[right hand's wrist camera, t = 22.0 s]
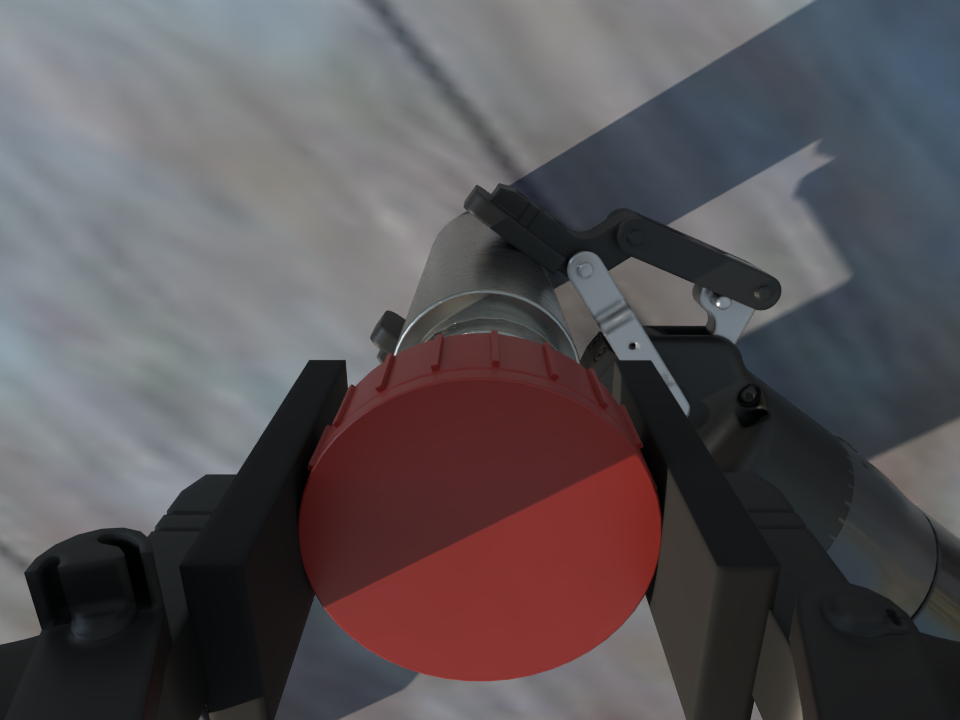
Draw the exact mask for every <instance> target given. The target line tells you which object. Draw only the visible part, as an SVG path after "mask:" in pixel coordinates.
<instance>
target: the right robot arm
mask: <svg viewBox="0 0 960 720" xmlns="http://www.w3.org/2000/svg"><path fill="white" fill-rule="evenodd" d="M347 390H348V384H347V372H346V360H309V361H308V363H307V365H306V366H305V368H304V369H303V371H302V372H301V374H300V376H299V377H298V379H297V380H296V382H295V384H294V385H293V387H292V388H291V390H290V391H289V393H288V395H287V396H286V398H285V399H284V401H283V402H282V404H281V406H280V407H279V409H278V410H277V412H276V414H275V415H274V417H273V418H272V420H271V421H270V423H269V425H268V426H267V428H266V429H265V431H264V432H263V434H262V436H261V437H260V439H259V440H258V442H257V444H256V445H255V447H254V448H253V450H252V451H251V453H250V455H249V456H248V458H247V459H246V461H245V462H244V464H243V466H242V467H241V469H240V470H239V472H238V474H237V475H205V476H203V477H202V478H201V479H199V480H198V481H196V482H195V483H193V484H192V485H190V486H189V487H187V488H186V489H184V490H183V491H182V492H181V493H180V494H179V496H178V497H177V498H176V500H175V501H174V502H173V504H172V505H171V506H170V508H169V509H168V510H167V515H164V516H163V517H162V518H161V520H160V521H159V522H158V524H157V525H156V526H155V531H154V532H151V533H150V534H149V536H148V537H146V536H145V535H144V534H143V533H142V532H140V531H136V530H132V529H127V528H108V529H99V530H95V531H91V532H87V533H83V534H79V535H76V536H74V537H72V538H69V539H67V540H65V541H63V542H60V543H58V544H56V545H54V546H53V547H51V548H50V549H48V550H47V551H46V552H44V553H43V554H41V555H40V556H38V557H37V558H36V559H35V560H34V561H33V562H32V564H31V565H30V566H29V567H28V569H27V570H26V571H25V572H24V574H25V577H26V580H27V584H28V587H29V590H30V593H31V597H32V600H33V603H34V606H35V609H36V613H37V616H38V619H39V622H40V626H41V629H42V631H41V633H40V635H38V636H35V637H32V638H28V639H25V640H20V641H16V642H11V643H7V644H2V645H0V720H199V718H200V716H201V714H202V712H203V710H204V707H205V705H206V703H207V707H208V712H209V717H210V720H274V718H275V715H276V712H277V709H278V706H279V703H280V700H281V697H282V693H283V690H284V687H285V684H286V681H287V678H288V675H289V672H290V669H291V666H292V663H293V660H294V657H295V654H296V651H297V648H298V645H299V642H300V638H301V635H302V632H303V629H304V626H305V623H306V620H307V617H308V614H309V611H310V608H311V605H312V602H313V599H314V596H315V593H314V591H313V589H312V587H311V585H310V582H309V580H308V578H307V575H306V573H305V570H304V566H303V562H302V558H301V550H300V542H299V533H298V515H299V508H300V503H301V499H302V494H303V490H304V488H305V485H306V483H307V480H308V478H309V475H310V472H311V471H309V470H307V467H308V464H309V462H310V460H311V458H312V455H313V453H314V451H315V449H316V447H317V444H318V442H319V440H320V438H321V436H322V434H323V431H324V429H325V427H326V425H329V426H331V425H332V423H333V421H334V418H335V416H336V415H337V413H338V410H339V408H340V406H341V404H342V401H343V399H344V397H345V395H346V392H347ZM612 396H613V398H614V399H615V400H616V402H617V403H618V405H619V406H621V405H623V404H624V406H625V407H626V409H627V411H628V414H629V416H630V418H631V420H632V422H633V425H634V427H635V429H636V431H637V433H638V435H639V438H640V440H641V442H642V444H643V448H641V449H640V450H641V452H642V455H643V457H644V459H645V461H646V464H647V466H648V468H649V470H650V473H651V475H652V477H653V479H654V482H655V484H656V486H657V488H658V491H657V493H658V495H659V500H660V506H661V512H662V537H661V546H660V554H659V561H658V564H657V568H656V571H655V574H654V577H653V579H652V581H651V583H650V586H649V588H648V590H647V592H646V594H645V595H646V598H647V601H648V604H649V607H650V610H651V613H652V616H653V619H654V622H655V625H656V628H657V631H658V634H659V637H660V640H661V643H662V646H663V649H664V653H665V656H666V659H667V662H668V665H669V668H670V671H671V674H672V677H673V680H674V683H675V686H676V689H677V692H678V695H679V698H680V701H681V704H682V707H683V711H684V714H685V717H686V720H750V719H751V714H752V709H753V704H754V701H755V703H756V705H757V707H758V710H759V712H760V714H761V716H762V719H763V720H960V642H958V641H953V640H949V639H944V638H940V637H935V636H932V635H928V634H925V633H922V632H919V630H918V628H917V627H916V625H915V624H914V622H913V621H912V619H911V618H910V616H909V615H908V614H907V613H906V612H905V611H904V610H902V609H901V608H900V607H899V606H897V605H896V604H895V603H894V602H892V601H891V600H890V599H888V598H886V597H884V596H882V595H880V594H878V593H876V592H874V591H872V590H870V589H868V588H865V587H861V586H858V585H854V584H851V583H849V582H848V580H847V579H846V578H845V576H844V575H843V574H842V572H841V571H840V570H839V568H838V567H837V566H836V564H835V563H834V562H833V560H832V559H831V558H830V556H829V555H828V554H827V552H826V551H825V550H824V548H823V547H822V546H821V544H820V543H819V542H818V540H817V539H816V538H815V536H814V535H813V534H812V532H811V531H810V530H809V529H806V524H805V523H804V522H803V520H802V519H801V518H800V516H799V515H798V514H797V513H794V508H793V507H792V506H791V504H790V503H789V502H788V500H787V499H786V498H785V496H784V495H783V494H782V492H781V491H780V490H779V489H778V488H777V487H775V486H774V485H772V484H771V483H769V482H768V481H766V480H765V479H763V478H762V477H760V476H759V475H758V474H756V473H755V472H722V471H721V470H720V468H719V466H718V465H717V463H716V462H715V460H714V459H713V457H712V455H711V454H710V452H709V451H708V449H707V448H706V446H705V444H704V443H703V441H702V440H701V438H700V437H699V435H698V433H697V432H696V430H695V429H694V427H693V425H692V424H691V422H690V421H689V419H688V418H687V416H686V414H685V413H684V411H683V410H682V408H681V407H680V405H679V403H678V402H677V400H676V399H675V397H674V395H673V394H672V392H671V391H670V389H669V388H668V386H667V384H666V383H665V381H664V380H663V378H662V377H661V375H660V373H659V372H658V370H657V369H656V367H655V365H654V364H653V362H652V361H651V360H615V364H614V377H613V389H612Z"/></svg>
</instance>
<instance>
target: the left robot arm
mask: <svg viewBox="0 0 960 720" xmlns="http://www.w3.org/2000/svg"><path fill="white" fill-rule="evenodd" d="M464 208H465V209H466V210H467V211H468V212H469V213H470V214H472V215H473V216H474V217H475V218H477V219H478V220H479V221H481V222H482V223H484V224H485V225H486V226H488V227H489V228H490V229H492V230H493V231H494V232H496V233H497V234H498V235H500V236H501V237H502V238H504V239H505V240H507V241H508V242H509V243H511V244H512V245H513V246H515V247H516V248H517V249H519V250H520V251H521V252H523V253H524V254H526V255H527V256H529V257H530V258H531V259H533V260H534V261H535V262H536V263H538V264H539V265H540V266H542V267H543V268H544V269H546V270H547V271H548V272H550V273H551V274H552V275H554V274H555V273H556V272H557V271H558V270H559V271H560V272H561V273H563V274H564V275H565V276H567V277H568V278H569V279H570V281H571V282H572V284H573V286H574V287H575V289H576V290H577V292H578V294H579V295H580V297H581V298H582V300H583V302H584V303H585V305H586V306H587V308H588V309H589V311H590V313H591V314H592V316H593V317H594V319H595V321H596V322H597V324H598V326H599V328H600V329H601V331H602V332H600V331H599V333H598V334H597V335H596V336H595V337H594V339H593V340H592V341H591V342H590V343H589V345H588V346H587V347H586V349H585V352H584V354H583V356H582V358H581V360H580V364H581V366H583V367H584V368H585V369H587V370H588V369H589V368H590V367H591V368H592V369H593V370H595V372H596V375H597V377H598V379H599V381H600V382H601V383H602V384H603V385H604V386H605V387H606V388H607V390H608V391H609V392H610V394H611V395H612V389H613V377H614V364H615V360H651V361H652V362H653V364H654V365H655V367H656V369H657V370H658V372H659V373H660V375H661V377H662V378H663V380H664V381H665V383H666V384H667V386H668V388H669V389H670V391H671V392H672V394H673V395H674V397H675V399H676V400H677V402H678V403H679V405H680V407H681V408H682V410H683V411H684V413H685V414H686V416H687V418H688V419H689V421H690V422H691V424H692V425H693V427H694V429H695V430H696V432H697V433H698V435H699V437H700V438H701V440H702V441H703V443H704V444H705V446H706V448H707V449H708V451H709V452H710V454H711V455H712V457H713V459H714V460H715V462H716V463H717V465H718V466H719V468H720V470H721V471H722V472H755V473H756V474H758V475H759V476H760V477H762V478H763V479H765V480H766V481H768V482H769V483H771V484H772V485H774V486H775V487H777V488H778V489H779V490H780V491H781V492H782V494H783V495H784V496H785V498H786V499H787V500H788V502H789V503H790V504H791V506H792V507H793V508H794V513H797V514H798V515H799V516H800V518H801V519H802V520H803V522H804V523H805V524H806V529H809V530H810V531H811V532H812V534H813V535H814V536H815V538H816V539H817V540H818V542H819V543H820V544H821V546H822V547H823V548H824V550H825V551H826V552H827V554H828V555H829V556H830V558H831V559H832V560H833V562H834V563H835V564H836V566H837V567H838V568H839V570H840V571H841V572H842V574H843V575H844V576H845V578H846V579H847V580H848V582H849V583H851V584H854V585H858V586H861V587H865V588H868V589H870V590H872V591H874V592H876V593H878V594H880V595H882V596H884V597H886V598H888V599H890V600H891V601H892V602H894V603H895V604H896V605H897V606H899V607H900V608H901V609H902V610H904V611H905V612H906V613H907V614H908V615H909V616H910V618H911V619H912V621H913V622H914V624H915V625H916V627H917V628H918V630H919V632H922V633H925V634H928V635H932V636H935V637H940V638H944V639H949V640H953V641H958V642H960V539H959V538H958V537H957V536H955V535H954V534H953V533H951V532H950V531H949V530H947V529H946V528H945V527H944V526H942V525H941V524H940V523H938V522H937V521H936V520H934V519H933V518H932V517H930V516H929V515H928V514H926V513H925V512H924V511H922V510H921V509H920V508H918V507H917V506H916V505H914V504H913V503H912V502H911V501H910V500H908V499H907V498H906V496H905V495H904V494H903V493H902V492H901V491H900V490H899V489H898V488H897V487H896V486H895V485H894V484H893V483H892V482H891V481H890V480H889V479H888V478H887V477H886V476H885V475H884V474H883V473H882V472H881V471H880V470H878V469H877V468H876V467H875V466H873V465H872V464H871V463H869V462H868V461H867V460H865V459H864V458H863V457H862V456H860V455H859V454H858V452H857V451H856V450H855V449H854V448H853V446H851V445H850V444H849V443H847V442H846V441H844V440H843V439H841V438H839V437H837V436H834V435H833V434H831V433H830V432H829V431H827V430H826V429H825V428H823V427H822V426H821V425H819V424H818V423H817V422H815V421H814V420H813V419H811V418H810V417H809V416H807V415H806V414H805V413H803V412H802V411H801V410H800V409H798V408H797V407H796V406H794V405H793V404H792V403H790V402H789V401H788V400H786V399H785V398H784V397H782V396H781V395H780V394H778V393H777V392H776V391H775V390H773V389H772V388H771V387H769V386H768V385H767V384H765V383H764V382H763V381H761V380H760V379H759V378H757V377H756V376H755V375H754V374H752V373H751V372H750V371H748V370H747V368H746V367H745V365H744V362H743V360H742V356H741V353H740V351H739V349H738V348H737V346H736V345H735V344H736V342H737V341H738V339H739V337H740V335H741V334H742V332H743V330H744V329H745V327H746V325H747V324H748V322H749V320H750V318H751V317H752V315H753V313H754V312H755V310H766V309H769V308H771V307H772V306H774V305H775V304H776V303H777V301H778V300H779V298H780V296H781V285H780V283H779V281H778V280H777V279H776V278H774V277H772V276H771V275H769V274H767V273H766V272H764V271H762V270H761V269H759V268H757V267H756V266H754V265H752V264H751V263H749V262H747V261H745V260H743V259H741V258H738V257H736V256H734V255H732V254H729V253H727V252H725V251H722V250H720V249H718V248H716V247H713V246H711V245H709V244H707V243H704V242H702V241H700V240H698V239H695V238H693V237H691V236H688V235H686V234H684V233H682V232H679V231H677V230H675V229H673V228H670V227H668V226H666V225H663V224H661V223H659V222H657V221H654V220H652V219H650V218H648V217H645V216H643V215H641V214H638V213H636V212H634V211H632V210H629V209H626V208H620V209H617V210H615V211H613V212H612V213H610V215H609V216H608V217H607V219H606V220H605V221H603V222H602V223H600V224H599V225H597V226H596V227H594V228H592V229H591V230H588V231H584V232H576V231H573V230H570V229H569V228H567V227H566V226H564V225H563V224H562V223H560V222H559V221H558V220H557V219H555V218H554V217H553V216H551V215H550V214H549V213H547V212H546V211H545V210H543V209H542V208H541V207H539V206H538V205H537V204H536V203H534V202H533V201H532V200H530V199H529V198H528V197H526V196H525V195H524V194H522V193H521V192H520V191H518V190H517V189H516V188H515V187H511V186H508V185H504V184H500V183H499V184H498V185H497V187H496V188H495V190H494V191H493V192H492V194H490V193H489V192H487V191H486V190H484V189H483V188H482V187H480V186H478V185H476V186H475V188H474V189H473V190H472V192H471V193H470V195H469V196H468V197H467V199H466V200H465V202H464ZM631 256H632V257H634V258H636V259H639V260H641V261H643V262H646V263H648V264H650V265H653V266H655V267H657V268H660V269H662V270H664V271H667V272H669V273H671V274H674V275H676V276H678V277H681V278H683V279H685V280H688V281H690V282H692V283H695V284H694V286H693V291H692V293H693V298H694V300H695V301H696V302H697V303H698V304H699V305H700V306H701V307H702V308H703V309H704V310H705V311H706V312H707V314H708V321H707V324H706V326H641V324H640V322H639V321H638V319H637V317H636V316H635V314H634V313H633V311H632V309H631V308H630V306H629V305H628V303H627V302H626V300H625V298H624V297H623V295H622V293H621V292H620V290H619V288H618V287H617V285H616V283H615V282H614V280H613V279H612V277H611V275H610V274H609V272H608V271H609V270H610V269H612V268H614V267H615V266H617V265H618V264H620V263H622V262H623V261H625V260H626V259H628V258H630V257H631ZM404 323H405V319H404V318H402V317H401V316H399V315H398V314H396V313H394V312H392V311H386V312H385V313H384V315H383V316H382V318H381V319H380V320H379V322H378V323H377V325H376V326H375V328H374V330H373V332H372V334H371V336H370V338H371V341H372V342H373V343H374V344H375V345H376V346H377V347H378V348H380V351H379V353H378V356H377V359H378V360H379V361H380V363H381V364H382V363H383V362H385V359H386V356H387V355H388V354H390V353H393V354H394V351H395V348H396V345H397V342H398V340H399V337H400V334H401V331H402V329H403V326H404ZM199 720H210V717H209V714H208V713H207V711H206V710H205V709H204V710H203V712H202V714H201V716H200V718H199Z"/></svg>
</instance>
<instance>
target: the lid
mask: <svg viewBox="0 0 960 720" xmlns="http://www.w3.org/2000/svg"><path fill="white" fill-rule="evenodd" d="M641 448H643V444H642V442H641V440H640V438H639V435H638V433H637V431H636V429H635V427H634V425H633V422H632V420H631V418H630V416H629V414H628V411H627V409H626V407H625V406H624V404H623V405H621V406H619V405H618V403H617V402H616V400H615V399H614V398H613V396H612V395H611V394H610V392H609V391H608V390H607V388H606V387H605V386H604V385H603V384H602V383H601V382H600V381H599V379H598V377H597V375H596V372H595V370H593V369H592V368H591V367H590V368H589V369H588V370H587V369H585V368H584V367H583V366H581V365H580V364H579V363H577V362H576V361H574V360H573V359H571V358H569V357H567V356H566V355H564V354H562V353H560V352H559V351H557V350H554V349H552V347H551V344H550V343H548V342H544V344H543V345H542V344H540V343H537V342H534V341H530V340H526V339H522V338H519V337H514V336H507V335H499V334H498V331H497V330H491V334H476V333H471V334H462V335H453V336H447V337H443V334H438V335H436V339H434V340H430V341H427V342H424V343H421V344H419V345H416V346H413V347H411V348H408V349H406V350H404V351H402V352H400V353H398V354H397V355H395V356H394V355H393V353H390V354H388V355H387V356H386V359H385V362H383V363H382V364H381V365H379V366H378V367H376V368H375V369H374V370H372V371H371V372H370V373H369V374H368V375H367V376H366V377H365V378H364V379H363V380H362V381H360V382H359V383H358V384H357V385H356V387H355V386H354V385H351V386H350V387H349V388H348V390H347V392H346V395H345V397H344V399H343V401H342V404H341V406H340V408H339V410H338V413H337V415H336V416H335V418H334V421H333V423H332V425H331V426H329V425H326V427H325V429H324V431H323V434H322V436H321V438H320V440H319V442H318V444H317V447H316V449H315V451H314V453H313V455H312V458H311V460H310V462H309V464H308V467H307V470H309V471H311V472H310V475H309V478H308V480H307V483H306V485H305V488H304V490H303V494H302V499H301V503H300V508H299V515H298V533H299V542H300V550H301V558H302V562H303V566H304V570H305V573H306V575H307V578H308V580H309V582H310V585H311V587H312V589H313V591H314V593H315V594H316V596H317V598H318V599H319V601H320V603H321V604H322V606H323V607H324V609H325V610H326V611H327V612H328V613H329V615H330V616H331V617H332V618H333V620H334V621H335V622H336V623H337V624H338V625H339V626H340V627H341V628H342V629H343V630H344V631H345V632H346V633H347V634H349V635H350V636H351V637H352V638H353V639H355V640H356V641H357V642H359V643H360V644H361V645H363V646H364V647H365V648H367V649H368V650H370V651H372V652H374V653H375V654H377V655H379V656H380V657H382V658H384V659H386V660H388V661H390V662H393V663H395V664H397V665H399V666H402V667H404V668H407V669H410V670H413V671H416V672H419V673H422V674H426V675H431V676H435V677H440V678H445V679H453V680H462V681H497V680H509V679H515V678H520V677H525V676H531V675H534V674H538V673H541V672H544V671H548V670H551V669H554V668H556V667H558V666H561V665H563V664H566V663H568V662H571V661H573V660H574V659H576V658H578V657H580V656H582V655H583V654H585V653H587V652H589V651H591V650H592V649H593V648H595V647H596V646H598V645H599V644H600V643H602V642H603V641H605V640H606V639H607V638H608V637H610V636H611V635H612V634H613V633H614V632H615V631H616V630H617V629H618V628H620V627H621V626H622V625H623V623H624V622H625V621H626V620H627V619H628V618H629V616H630V615H631V614H632V613H633V612H634V611H635V609H636V608H637V606H638V605H639V603H640V602H641V600H642V599H643V597H644V595H645V594H646V592H647V590H648V588H649V586H650V583H651V581H652V579H653V577H654V574H655V571H656V568H657V564H658V561H659V554H660V546H661V537H662V512H661V506H660V500H659V495H658V493H657V491H658V488H657V486H656V484H655V482H654V479H653V477H652V475H651V473H650V470H649V468H648V466H647V464H646V461H645V459H644V457H643V455H642V452H641V450H640V449H641Z"/></svg>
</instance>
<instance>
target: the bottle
mask: <svg viewBox="0 0 960 720" xmlns="http://www.w3.org/2000/svg"><path fill="white" fill-rule="evenodd" d="M491 330H497V331H498V334H499V335H507V336H514V337H519V338H522V339H526V340H530V341H534V342H537V343H540V344H542V345H543V344H544V342H548V343H550V344H551V347H552V349H554V350H557V351H559V352H560V353H562V354H564V355H566V356H567V357H569V358H571V359H573V360H574V361H576V362H577V363H579V364H580V359H579V356H578V352H577V349H576V346H575V343H574V341H573V338H572V336H571V333H570V330H569V328H568V325H567V322H566V320H565V317H564V314H563V312H562V309H561V306H560V304H559V301H558V299H557V296H556V293H555V291H554V288H553V285H552V283H551V280H550V277H549V275H548V272H547V270H546V269H544V268H543V267H542V266H540V265H539V264H538V263H536V262H535V261H534V260H533V259H531V258H530V257H529V256H527V255H526V254H524V253H523V252H521V251H520V250H519V249H517V248H516V247H515V246H513V245H512V244H511V243H509V242H508V241H507V240H505V239H504V238H502V237H501V236H500V235H498V234H497V233H496V232H494V231H493V230H492V229H490V228H489V227H488V226H486V225H485V224H484V223H482V222H481V221H479V220H478V219H477V218H475V217H474V216H473V215H472V214H470V213H466V214H463V215H461V216H459V217H457V218H456V219H454V220H452V221H451V222H450V223H449V224H447V225H446V226H445V227H444V228H443V229H442V231H441V232H440V233H439V235H438V236H437V238H436V239H435V241H434V243H433V246H432V249H431V251H430V254H429V257H428V260H427V262H426V265H425V268H424V271H423V273H422V276H421V279H420V282H419V284H418V287H417V290H416V293H415V296H414V298H413V301H412V304H411V307H410V309H409V312H408V315H407V318H406V320H405V323H404V326H403V329H402V331H401V334H400V337H399V340H398V342H397V345H396V348H395V351H394V354H393V355H394V356H395V355H397V354H398V353H400V352H402V351H404V350H406V349H408V348H411V347H413V346H416V345H419V344H421V343H424V342H427V341H430V340H434V339H436V335H438V334H443V337H447V336H453V335H462V334H471V333H476V334H491ZM580 365H581V364H580Z"/></svg>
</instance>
